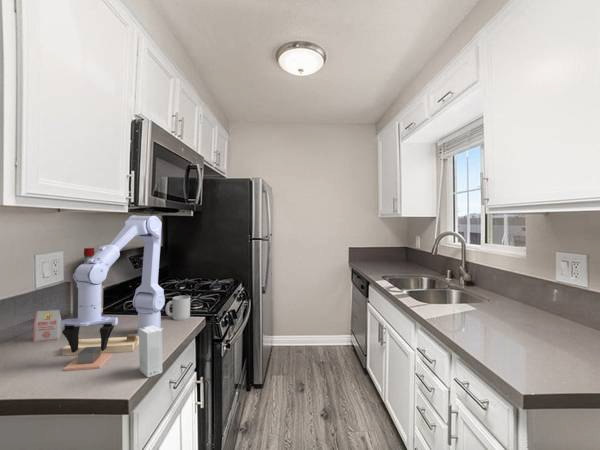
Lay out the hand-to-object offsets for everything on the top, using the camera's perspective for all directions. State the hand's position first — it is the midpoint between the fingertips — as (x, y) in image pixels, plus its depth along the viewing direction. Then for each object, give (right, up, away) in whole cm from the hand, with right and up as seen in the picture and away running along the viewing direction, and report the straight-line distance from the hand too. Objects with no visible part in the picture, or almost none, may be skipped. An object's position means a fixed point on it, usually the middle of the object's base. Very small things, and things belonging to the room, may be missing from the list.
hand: (89, 350), depth 92 cm
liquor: (-27, -3, +38) cm, 47 cm away
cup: (+9, -4, +43) cm, 44 cm away
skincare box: (+20, -4, -5) cm, 21 cm away
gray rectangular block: (0, -3, 0) cm, 3 cm away
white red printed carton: (-26, -3, +17) cm, 31 cm away
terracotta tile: (0, -4, 0) cm, 4 cm away
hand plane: (-2, -4, +10) cm, 11 cm away
